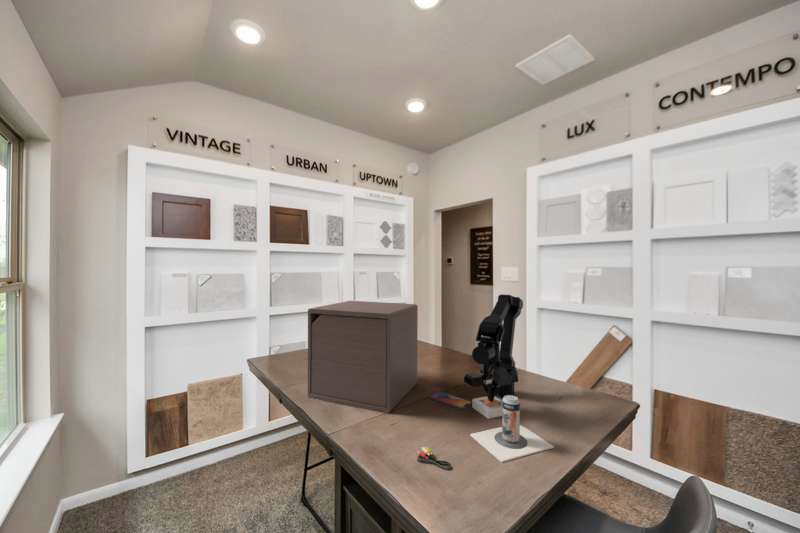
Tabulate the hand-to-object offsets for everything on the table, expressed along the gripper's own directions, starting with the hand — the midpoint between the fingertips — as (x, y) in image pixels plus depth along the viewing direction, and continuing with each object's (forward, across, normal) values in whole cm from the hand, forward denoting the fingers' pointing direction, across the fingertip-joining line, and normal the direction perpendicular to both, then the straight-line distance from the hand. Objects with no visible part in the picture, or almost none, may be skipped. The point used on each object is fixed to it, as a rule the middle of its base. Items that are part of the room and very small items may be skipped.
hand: (490, 401), depth 111 cm
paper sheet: (+3, -7, -18) cm, 20 cm away
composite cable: (+4, -33, -18) cm, 38 cm away
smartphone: (+4, -9, +12) cm, 16 cm away
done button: (+2, 0, 0) cm, 2 cm away
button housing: (+3, 0, 0) cm, 3 cm away
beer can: (+3, -7, -18) cm, 19 cm away
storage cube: (+4, -36, +33) cm, 49 cm away
